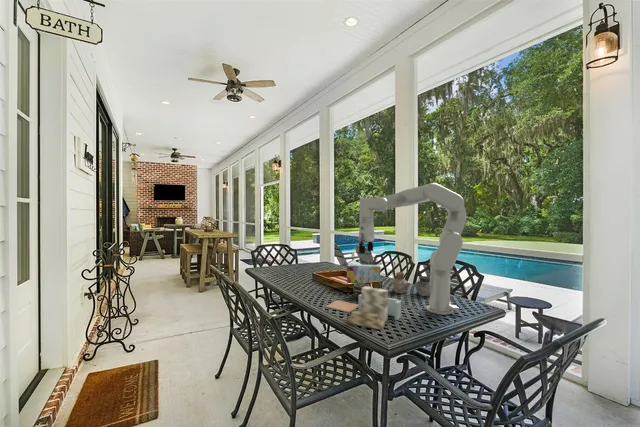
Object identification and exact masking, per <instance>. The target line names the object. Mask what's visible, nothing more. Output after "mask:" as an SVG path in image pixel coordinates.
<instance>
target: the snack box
mask: <svg viewBox="0 0 640 427" xmlns="http://www.w3.org/2000/svg"><path fill="white" fill-rule="evenodd" d="M363 282H379V283H380V284H381V265H380V264H349V263H348V264H346V284H347V283H363ZM379 289H381V287H380V288H379Z"/></svg>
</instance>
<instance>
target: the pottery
mask: <svg viewBox="0 0 640 427" xmlns="http://www.w3.org/2000/svg"><path fill="white" fill-rule="evenodd" d="M395 274H396V275H395V276H396V277H395V278H394V279H392V281H391V284H392V287H393V289H394V290H395V291H394V292H395V293H397V294H404V293H406V291H405V290H406V289H407V288H408V286H409V281H407V279H405V278H404V275H405V273H404V272H399V271H396V272H395ZM418 279H419V280H418V281H416V282H414V287H415V290H417V292H418V293H419V294H418V295H420V296H421V297H430V276H427V275H420V276H419V278H418Z"/></svg>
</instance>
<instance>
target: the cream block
mask: <svg viewBox="0 0 640 427" xmlns="http://www.w3.org/2000/svg"><path fill="white" fill-rule="evenodd" d="M388 298H389V290H388V289H383V288H380V289H378V288H373V287H367V286H364V287H363V288H362V290H361V311H362V312H368V313H374V314H379V320H383V321H385V322H386V321H388V320H389V315H388Z"/></svg>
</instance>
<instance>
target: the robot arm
mask: <svg viewBox="0 0 640 427" xmlns="http://www.w3.org/2000/svg"><path fill="white" fill-rule="evenodd" d="M431 201H432V202H433V203H435V204H437V205H438V206H441V208H442V207H443V208H444V209H445V210H446V211H447V219H446V222H445V224H444V227H443V229H442V232H441V233H440V235H439V245H438V248H437V249H435V250H433V251H432V252H431V254H430V257H429V263H430V274H429V275H430V276H429V277H430V295H429V304H428V305H427V306H426V310H427V311H428V312H430V313H431V314H435V315H443V316H446V315H452V314H453V313H454V311H455V312H460V306H459V307H458V306H457V305H453V304H452V302H451V270H452V269H453V267H455V263H456V261H457V259H458V257H459V254H460V252H461V250H462V247H463V242H464V241H463V237H462V233H463V230H464V228H465V225H466V221H467V211H466V207H465V199H464V198H463V197H462V195H460V194H458V193H457V192H454V191H452V190H451V189H448V188H447V187H444V186H443V185H440V184H438V183H436V182H431V183H428V184H424V185H421V186H416V187H413V188H409V189H408V188H407V189H404V190H401V191H399V192H397V193H392V194H390V195H389V194H388V195H385V196H379V197H360V198H359V215H358V216H359V219H358V220H359V228H358V230H359V231H358V237H357V243H358V248H359V249H358V251H359V254H365V253H366V245H365V244H366V242H367V251H368V252H373V251H374V240H375V226H374V225H375V224H374V223H375V222H374V212H385V211H388V210H391V209H396V208H402V207H409V206H413V205H417V204H422V203H427V202H431Z"/></svg>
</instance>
